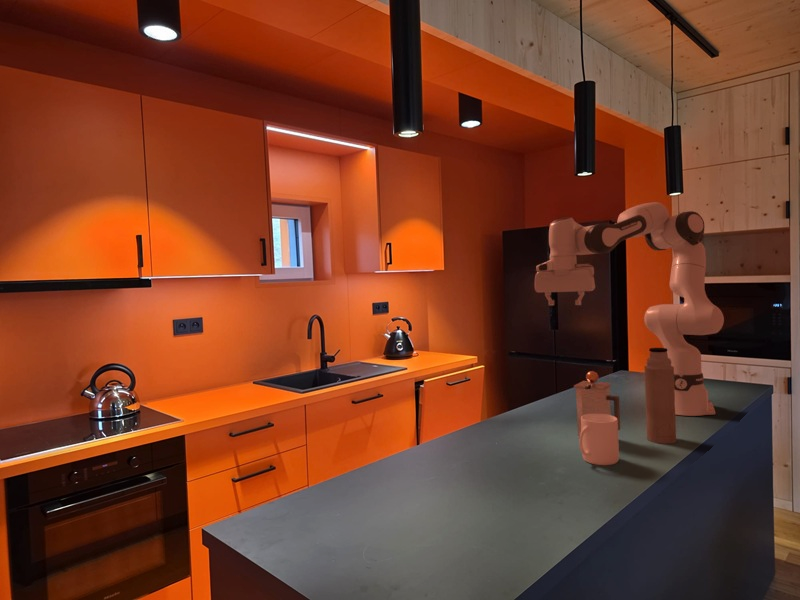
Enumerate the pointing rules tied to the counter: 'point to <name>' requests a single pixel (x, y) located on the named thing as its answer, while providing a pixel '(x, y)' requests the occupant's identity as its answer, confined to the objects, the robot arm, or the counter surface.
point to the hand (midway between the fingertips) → (564, 305)
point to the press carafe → (595, 401)
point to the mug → (599, 439)
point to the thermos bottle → (660, 397)
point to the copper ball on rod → (592, 377)
